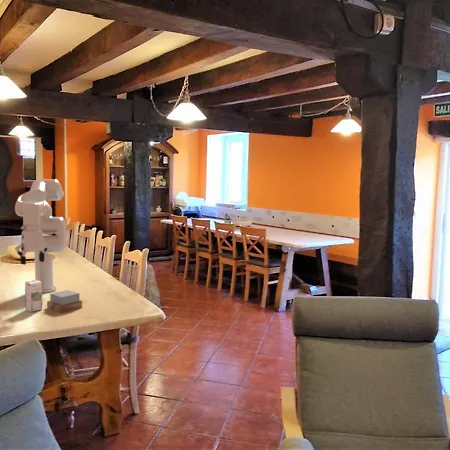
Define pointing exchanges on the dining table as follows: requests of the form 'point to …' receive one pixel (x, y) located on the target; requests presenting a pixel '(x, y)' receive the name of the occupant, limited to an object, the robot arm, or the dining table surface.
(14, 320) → the dining table surface
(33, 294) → the syrup box
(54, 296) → the slate top block
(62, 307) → the walnut base block
